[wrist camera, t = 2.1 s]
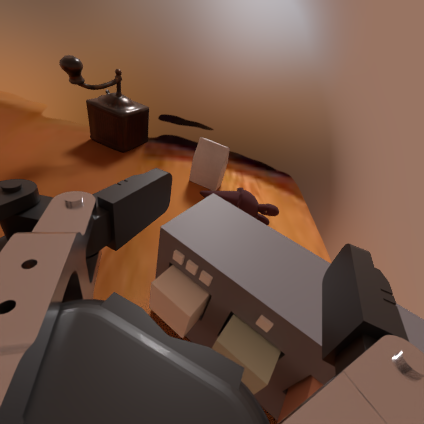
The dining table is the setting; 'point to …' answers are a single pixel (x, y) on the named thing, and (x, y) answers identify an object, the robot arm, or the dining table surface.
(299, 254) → the console
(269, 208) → the icecream
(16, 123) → the dining table surface
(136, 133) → the dark brown coffee grinder
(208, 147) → the pale pink rectangular block
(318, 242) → the dining table surface
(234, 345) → the button sage
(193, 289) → the button cream
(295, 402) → the button terracotta
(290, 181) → the dining table surface
